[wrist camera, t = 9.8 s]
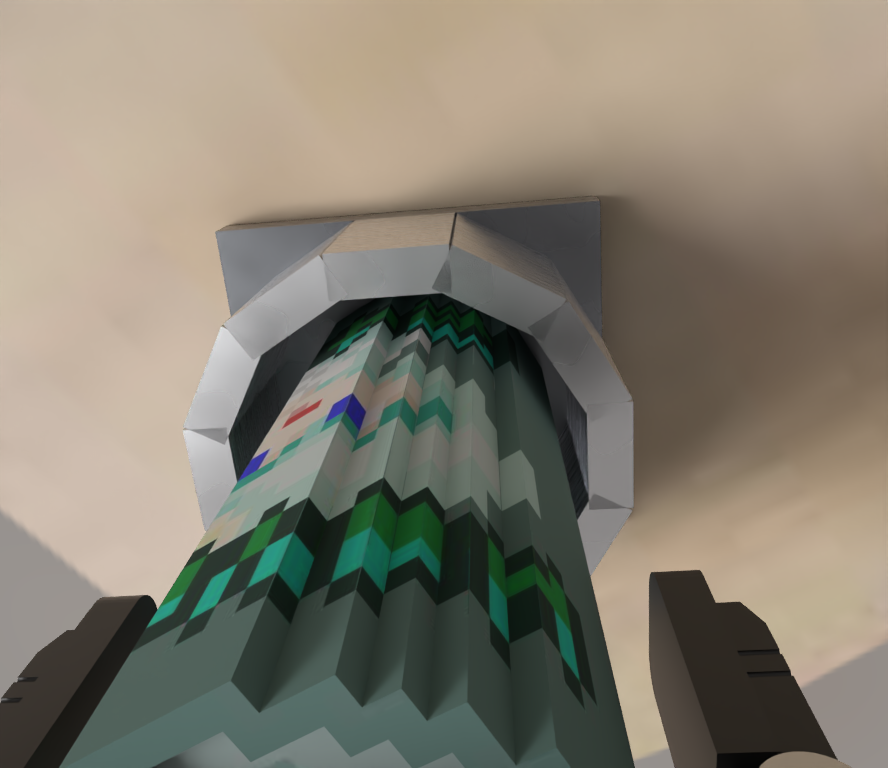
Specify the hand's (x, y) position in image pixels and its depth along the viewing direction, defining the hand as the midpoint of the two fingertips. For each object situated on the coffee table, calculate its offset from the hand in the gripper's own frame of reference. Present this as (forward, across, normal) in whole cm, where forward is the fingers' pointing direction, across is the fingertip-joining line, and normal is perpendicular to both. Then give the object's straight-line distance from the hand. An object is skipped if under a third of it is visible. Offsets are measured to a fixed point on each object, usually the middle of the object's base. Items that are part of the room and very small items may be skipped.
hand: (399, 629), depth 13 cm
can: (+10, 0, 0) cm, 10 cm away
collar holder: (+11, 0, 0) cm, 11 cm away
